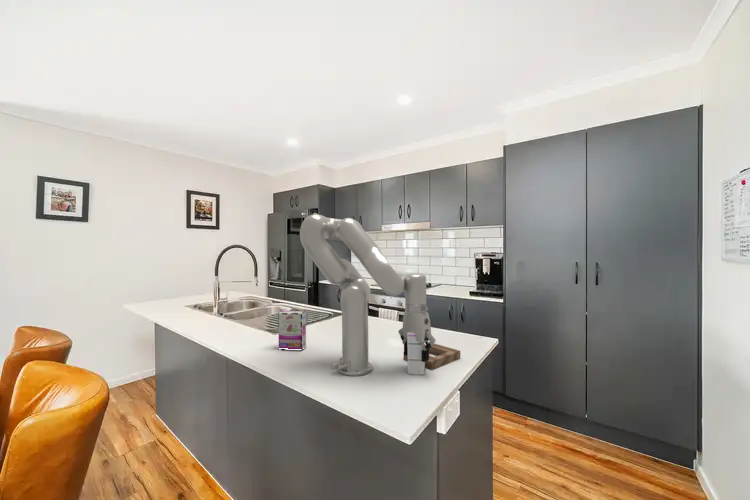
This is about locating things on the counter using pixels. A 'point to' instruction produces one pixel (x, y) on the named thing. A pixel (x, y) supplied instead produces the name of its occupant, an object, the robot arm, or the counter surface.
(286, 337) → the candy bar box
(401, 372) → the counter surface
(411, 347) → the syrup box
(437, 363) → the square wooden frame
